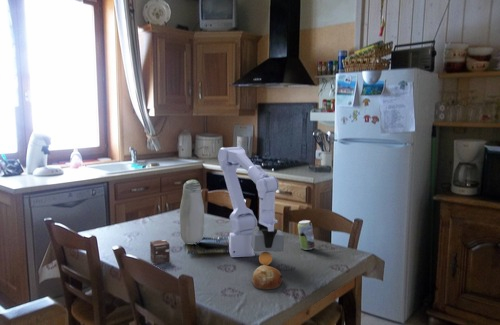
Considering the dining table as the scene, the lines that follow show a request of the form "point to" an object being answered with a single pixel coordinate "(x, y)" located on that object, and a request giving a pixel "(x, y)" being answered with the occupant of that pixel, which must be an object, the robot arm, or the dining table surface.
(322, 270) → the dining table surface
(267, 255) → the ball
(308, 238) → the beverage can
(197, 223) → the white tall rounded cylinder
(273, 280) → the bread roll
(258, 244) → the light grey cuboid
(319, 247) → the dining table surface
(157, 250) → the box
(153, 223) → the dining table surface
